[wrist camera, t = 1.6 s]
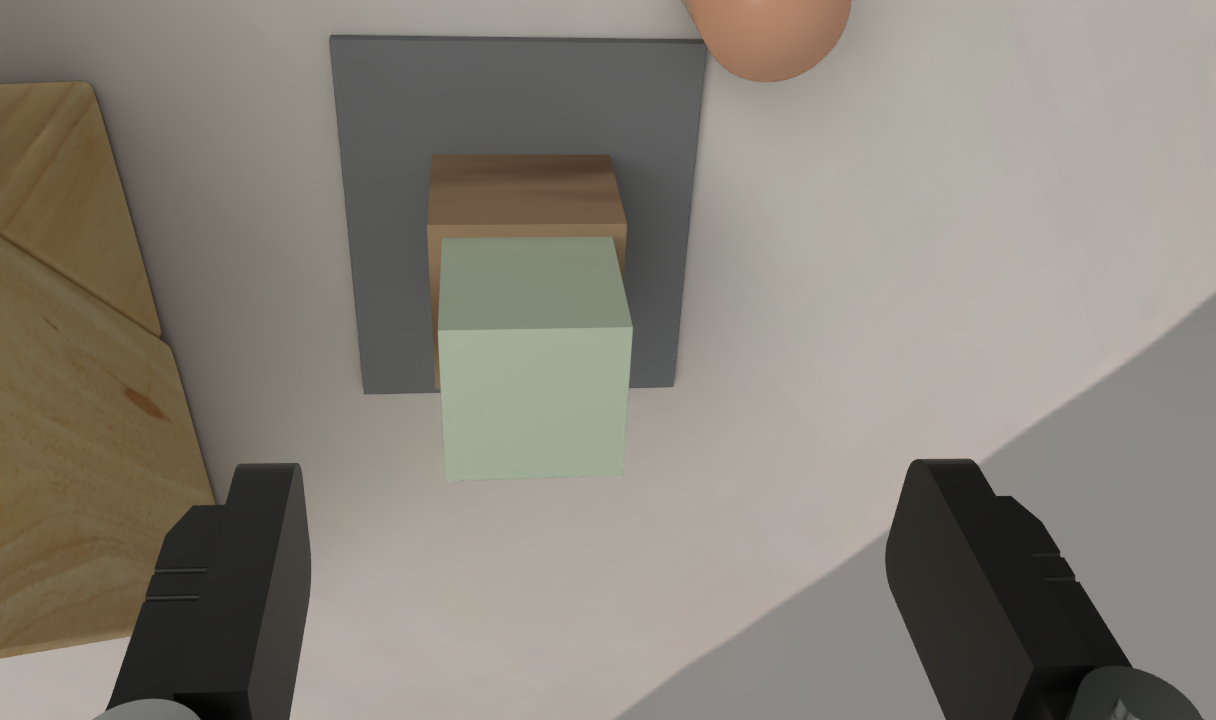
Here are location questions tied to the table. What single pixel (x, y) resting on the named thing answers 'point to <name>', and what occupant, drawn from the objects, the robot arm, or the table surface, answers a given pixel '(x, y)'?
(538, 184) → the bottom block
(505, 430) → the top block
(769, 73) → the tan rounded cylinder
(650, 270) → the mat
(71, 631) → the knife block
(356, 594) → the table surface
